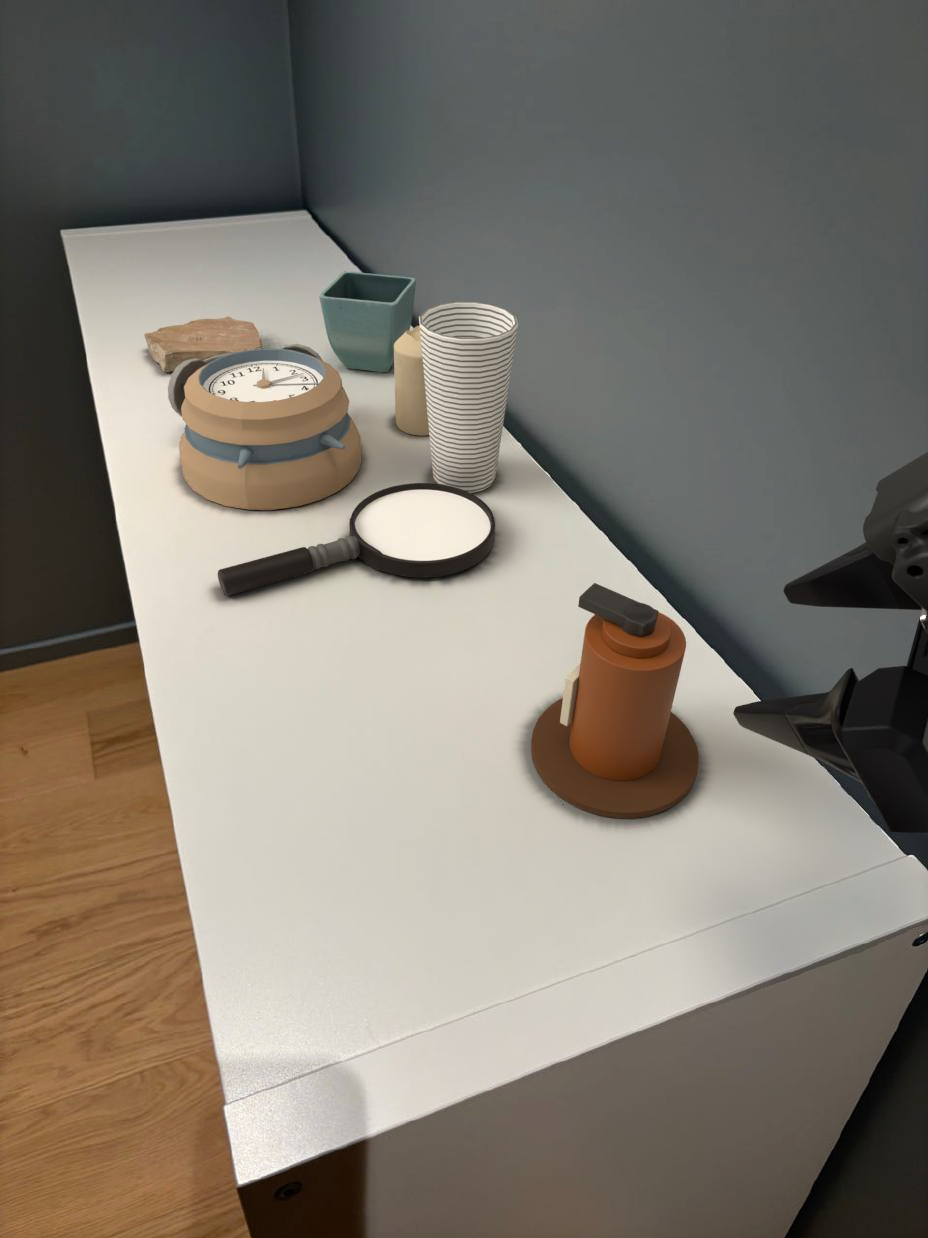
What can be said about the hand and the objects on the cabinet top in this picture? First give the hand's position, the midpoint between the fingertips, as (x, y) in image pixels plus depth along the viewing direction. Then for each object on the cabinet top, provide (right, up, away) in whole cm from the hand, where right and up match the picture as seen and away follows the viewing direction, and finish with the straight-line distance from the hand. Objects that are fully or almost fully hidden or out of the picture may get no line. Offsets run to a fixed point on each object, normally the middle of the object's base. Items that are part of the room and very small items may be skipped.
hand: (763, 652), depth 48 cm
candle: (-20, +22, +49) cm, 57 cm away
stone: (-45, +32, +60) cm, 82 cm away
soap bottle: (-6, -7, +13) cm, 16 cm away
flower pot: (-26, +32, +60) cm, 73 cm away
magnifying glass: (-24, +7, +30) cm, 40 cm away
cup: (-16, +15, +41) cm, 46 cm away
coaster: (-6, -7, +14) cm, 16 cm away
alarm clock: (-35, +18, +44) cm, 59 cm away
